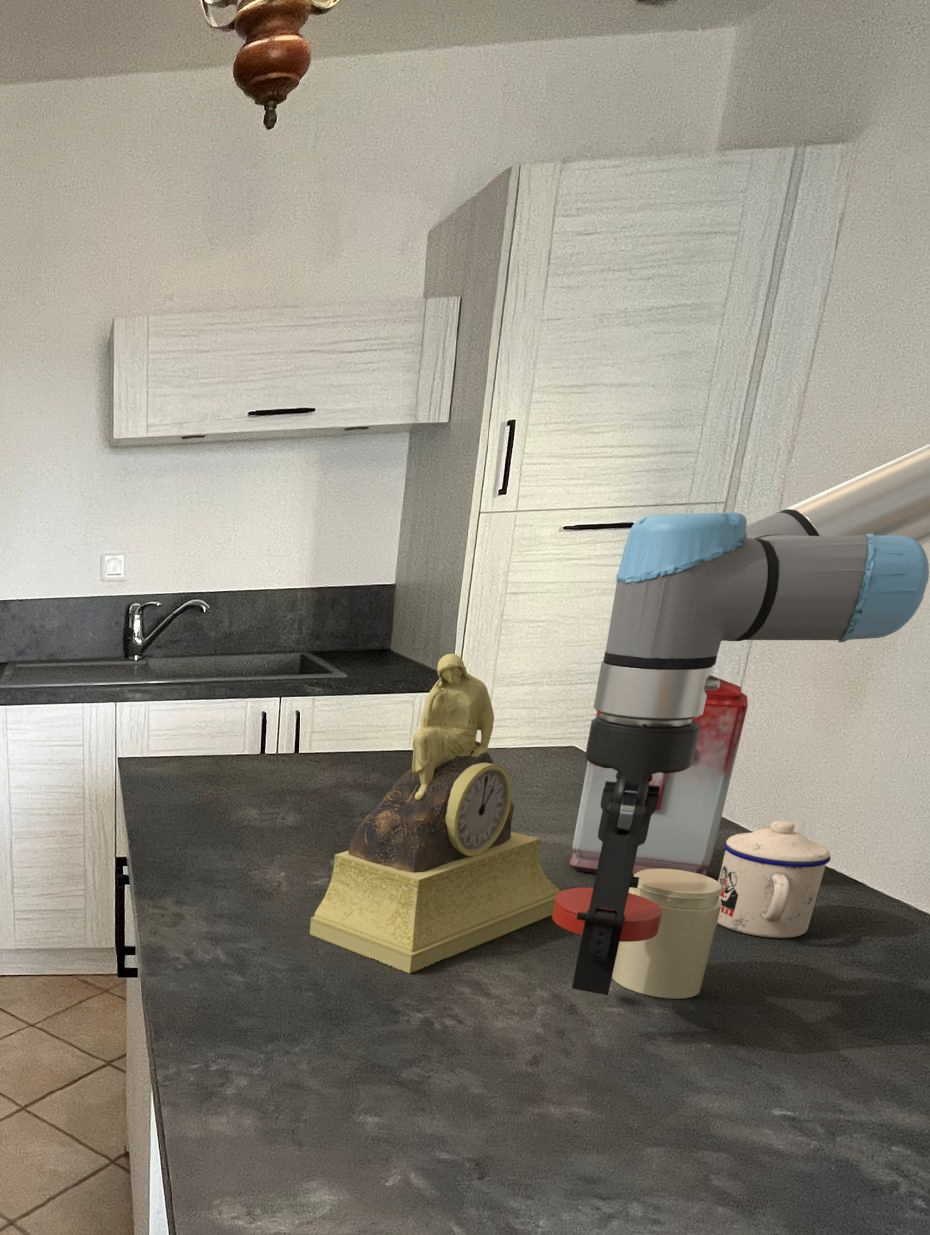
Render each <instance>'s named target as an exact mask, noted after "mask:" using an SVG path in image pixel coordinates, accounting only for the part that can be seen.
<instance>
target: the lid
mask: <svg viewBox="0 0 930 1235" xmlns="http://www.w3.org/2000/svg"><path fill="white" fill-rule="evenodd" d="M592 892H593V887H574V888H567V889H563V890H560V892H559V893H558V894H556V896H555V901H554V907H553V912H552V915H551V920H552V921H553V922H554V923H555V924H556V925H557V926H559V927H561V928H562V929H564V930H566V931H569V932H571V933H574V934H576V935H580V936H582V934H583V929H584V924H585V921H583V920H577V915H578V912H582V913H586V912H587V911H588V910H589V907H590V902H591V897H592ZM602 909H605V908H602ZM608 910H612V909H608ZM623 916H625V921H624V923H623V927H622V932H621V937H620V942H634V941H643V940H648V939H651V938H653V937H654V936H656V935H657V933H658V929H659V924H660V920H661V916H662V909H661V908H660V906H658V905H657V904H656V903H654V902H652V901H651V900H648V899H646V898H643V897H641V896H638V895H635V894H631V893H628V896H627V901H626V906H625V911H624V915H623Z"/></svg>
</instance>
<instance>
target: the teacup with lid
mask: <svg viewBox="0 0 930 1235" xmlns="http://www.w3.org/2000/svg"><path fill="white" fill-rule="evenodd" d="M723 848H724V850H725V851H724V854H723V859H722V863H721V867H720V872H719V875H718V880H717V881H718V882H719V883H720V884H721V886H722V894H720V896H719V899H720V900H721V902H722V905H721V909H720V913H719V917H718V921H717V925H720V926H721V927H723V928H726V929H728V930H730V931H734V932H737V933H740V934H745V935H750V936H753V937H759V938H769V939H792V938H796V937H800V936H802V935H804V934H805V933H807V931H808V930H809V926H810V922H811V918H812V915H813V912H814V908H815V905H816V901H817V897H818V894H819V890H820V888H821V883H822V879H823V877H824V873H825V869H826V866H827V864H829V862H830V861H831V853H830V851H829V849H828V848H827V847H826V846H824V845H823V844H821V843H818V842H816V841H814V840H810V839H808V838H807V837H806V836H805V835H803V834H802V833H800V832H797V831H795V824H794V823H793V822H791V821H787V820H774V821H772V822H771V823H770V826H769V828H768V827H767V828H762V829H757V830H755V831H752V832H741V833H737V834H734V835H731V836H730V837H728V838H727V839H726V840H725V842H724V844H723Z"/></svg>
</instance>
